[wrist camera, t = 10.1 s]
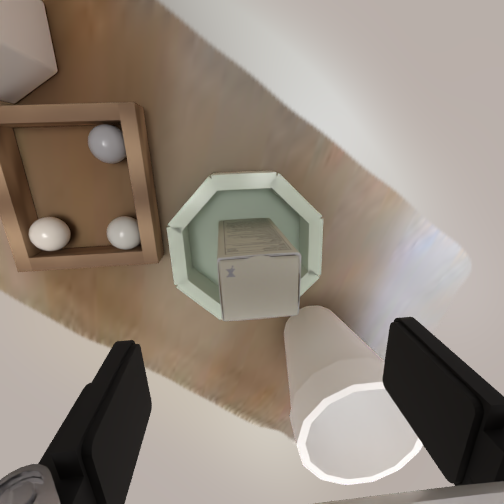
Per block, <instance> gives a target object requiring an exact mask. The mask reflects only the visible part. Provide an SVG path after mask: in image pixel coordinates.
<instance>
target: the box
mask: <svg viewBox="0 0 504 504" xmlns="http://www.w3.org/2000/svg"><path fill="white" fill-rule="evenodd" d="M301 258H302V256H301V254H300V253H299V252H298V250H297V249H296V248H295V247H294V246H293V245H292V244H291V243H290V241H289V240H288V239H287V238H286V237H285V235H284V234H283V233H282V232H281V231H280V230H279V228H278V227H277V226H276V225H275V224H274V223H273V221H272V220H271V219H270V218H248V219H232V220H221V221H219V224H218V251H217V270H218V285H219V296H220V305H221V313H222V319H223V320H224V321H237V320H251V319H264V318H274V317H285V316H295V315H298V313H299V303H300V285H301Z"/></svg>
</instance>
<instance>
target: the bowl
mask: <svg viewBox="0 0 504 504" xmlns="http://www.w3.org/2000/svg"><path fill="white" fill-rule="evenodd" d="M321 217H322V215H321V214H320V213H319V212H318V211H317V210H316V209H315V208H314V207H313V206H312V205H311V204H310V203H309V202H308V201H307V200H306V199H305V198H304V197H303V196H302V195H301V194H300V193H299V192H298V191H297V190H296V189H295V188H294V187H293V186H291V185H290V184H289V183H288V182H287V181H286V180H285V179H284V178H283V177H282V176H281V175H280V174H279V173H276V172H274V171H270V170H267V171H244V172H221V173H213V174H211V175H210V176H208V178H207V179H206V180H205V181H204V182H203V183H202V185H201V186H200V187H199V188H198V189H197V191H196V192H195V193H194V194H193V195H192V196H191V198H190V199H189V200H188V201H187V202H186V203H185V205H184V206H183V207H182V208H181V209H180V210H179V212H178V213H177V214H176V215H175V216H174V217H173V219H172V220H171V221H170V222H169V223H168V224H167V225H168V226H167V234H168V242H169V249H170V256H171V264H172V271H173V279H174V285H177V286H176V288H178V289H179V290H180V291H182V292H183V293H184V294H186V295H187V296H188V297H190V298H191V299H192V300H194V301H195V302H196V303H198V304H199V305H201V306H202V307H203V308H205V309H206V310H207V311H209V312H210V313H211V314H213V315H214V316H215V317H217V318H218V319H219V320H221V319H222V313H221V305H220V296H219V285H218V270H217V251H218V224H219V221H221V220H232V219H248V218H270V219H271V220H272V221H273V223H274V224H275V225H276V226H277V227H278V228H279V230H280V231H281V232H282V233H283V234H284V235H285V237H286V238H287V239H288V240H289V241H290V243H291V244H292V245H293V246H294V247H295V248H296V249H297V250H298V252H299V253H300V254H301V256H302V258H301V285H300V296H301V295H302V294H303V293H304V292H305V291H306V290H307V289H308V288H309V287H310V286H312V285H313V284H314V283H315V282H316V281H317V280H318V279H319V278H320V277H319V276H318V275H321V265H322V240H323V218H321ZM223 321H224V320H223Z"/></svg>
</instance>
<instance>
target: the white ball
mask: <svg viewBox="0 0 504 504" xmlns="http://www.w3.org/2000/svg"><path fill="white" fill-rule="evenodd" d="M107 237H108V240H109V241H110V243H111V244H112V245H113V246H115V247H117V248H119V249H123V250H128V249H132V248H134V247H136V246H138V245H139V244H140V242H141V239H140V233H139V227H138V221H137V220H136V219H134V218H132V217H129V216H121V217H117V218H115V219H114V220H112V221H111V222H110V224H109V225H108V228H107Z"/></svg>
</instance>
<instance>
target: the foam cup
mask: <svg viewBox="0 0 504 504" xmlns="http://www.w3.org/2000/svg"><path fill="white" fill-rule="evenodd" d="M284 342H285V352H286V361H287V371H288V381H289V391H290V401H291V411H290V415H289V416H290V420H291V424H292V428H293V432H294V437H295V441H296V445H297V448H298V451H299V454H300V457H301V460H302V464H303V466H304V467H306V468H307V469H308V470H309V471H311V472H312V473H313V474H314V475H316V476H317V477H318V478H319V479H321V480H325V481H330V482H334V483H338V484H343V485H351V484H359V483H366V482H374V481H376V480H378V479H380V478H382V477H384V476H387V475H389V474H391V473H393V472H396V471H398V470H400V469H401V468H402V467H403V466H404V465H405V464H406V463H407V462H408V461H409V460H411V459H412V458H413V457H414V456H415V455H416V454H417V453H418V452H419V451H420V449H421V447H422V445H423V444H422V442H421V441H420V439H419V438H418V436H417V435H416V434H415V432H414V431H413V429H412V428H411V426H410V425H409V423H408V422H407V420H406V419H405V417H404V416H403V414H402V413H401V411H400V410H399V408H398V407H397V405H396V404H395V403H394V401H393V400H392V398H391V397H390V395H389V394H388V392H387V391H386V389H385V387H384V385H383V380H382V377H383V371H384V364H385V361H384V360H383V359H381V358H380V357H379V356H378V355H377V354H376V353H375V352H374V351H373V350H372V349H371V348H370V347H369V346H368V345H367V344H366V343H365V342H364V341H363V340H362V339H361V338H359V337H358V336H357V335H356V334H355V333H354V332H353V331H352V330H351V329H350V328H349V327H348V326H347V325H346V324H345V323H344V322H343V321H342V320H341V319H340V318H338V317H337V316H336V315H335V314H334V313H333V312H332V311H331V310H330V309H328V308H325V307H322V306H319V305H315V306H305V307H303V308H301V309H299V313H298V315H295V316H291V317H290V318H289V319H288V320H287V322H286V325H285V329H284Z"/></svg>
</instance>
